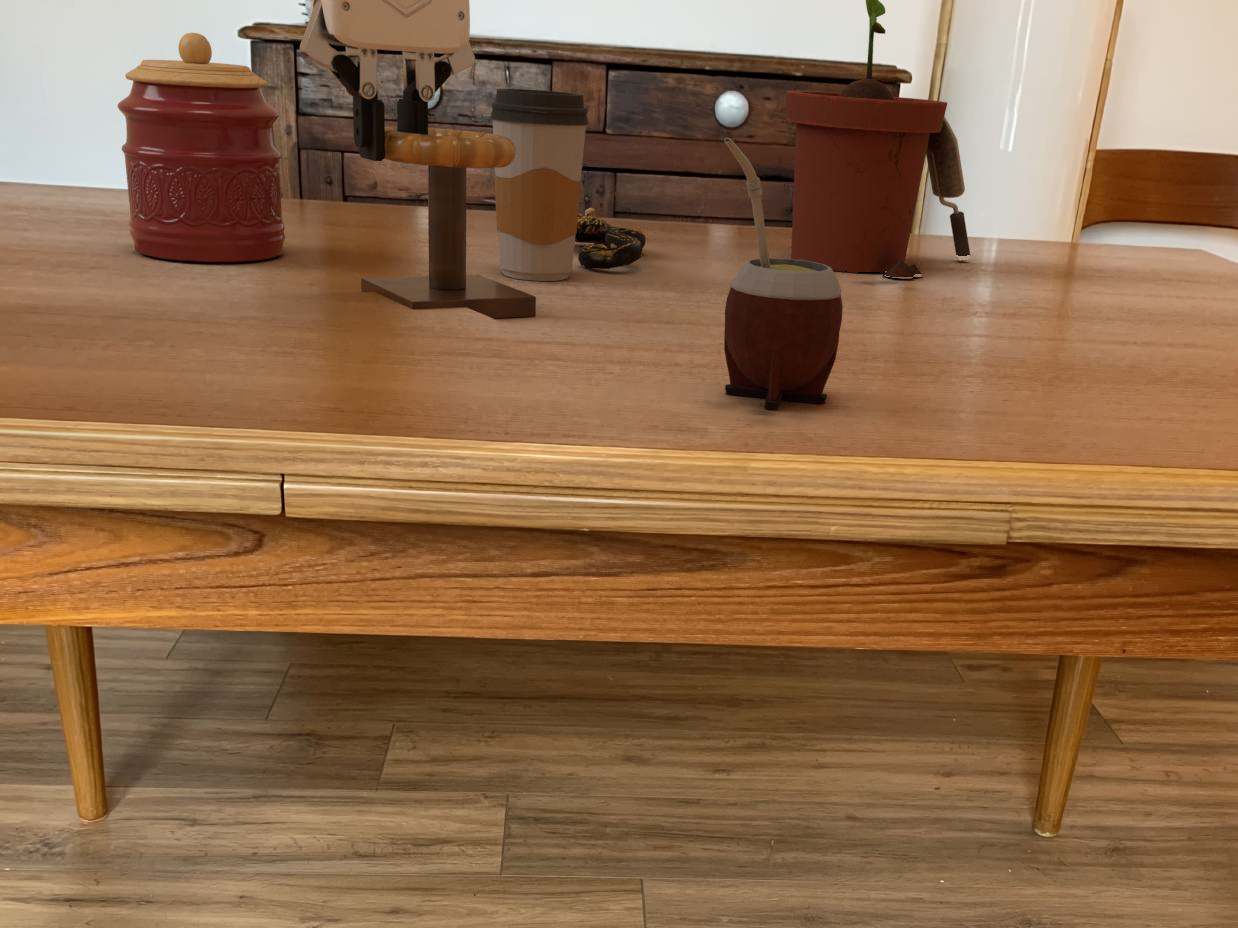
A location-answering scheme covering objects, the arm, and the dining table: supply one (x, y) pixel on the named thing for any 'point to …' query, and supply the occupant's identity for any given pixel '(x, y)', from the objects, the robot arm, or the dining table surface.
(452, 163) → the ring
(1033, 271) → the dining table surface
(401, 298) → the wooden peg stand
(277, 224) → the kitchen canister
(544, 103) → the coffee cup
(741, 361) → the mate gourd
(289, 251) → the dining table surface
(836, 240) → the potted plant
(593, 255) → the rubber snake
